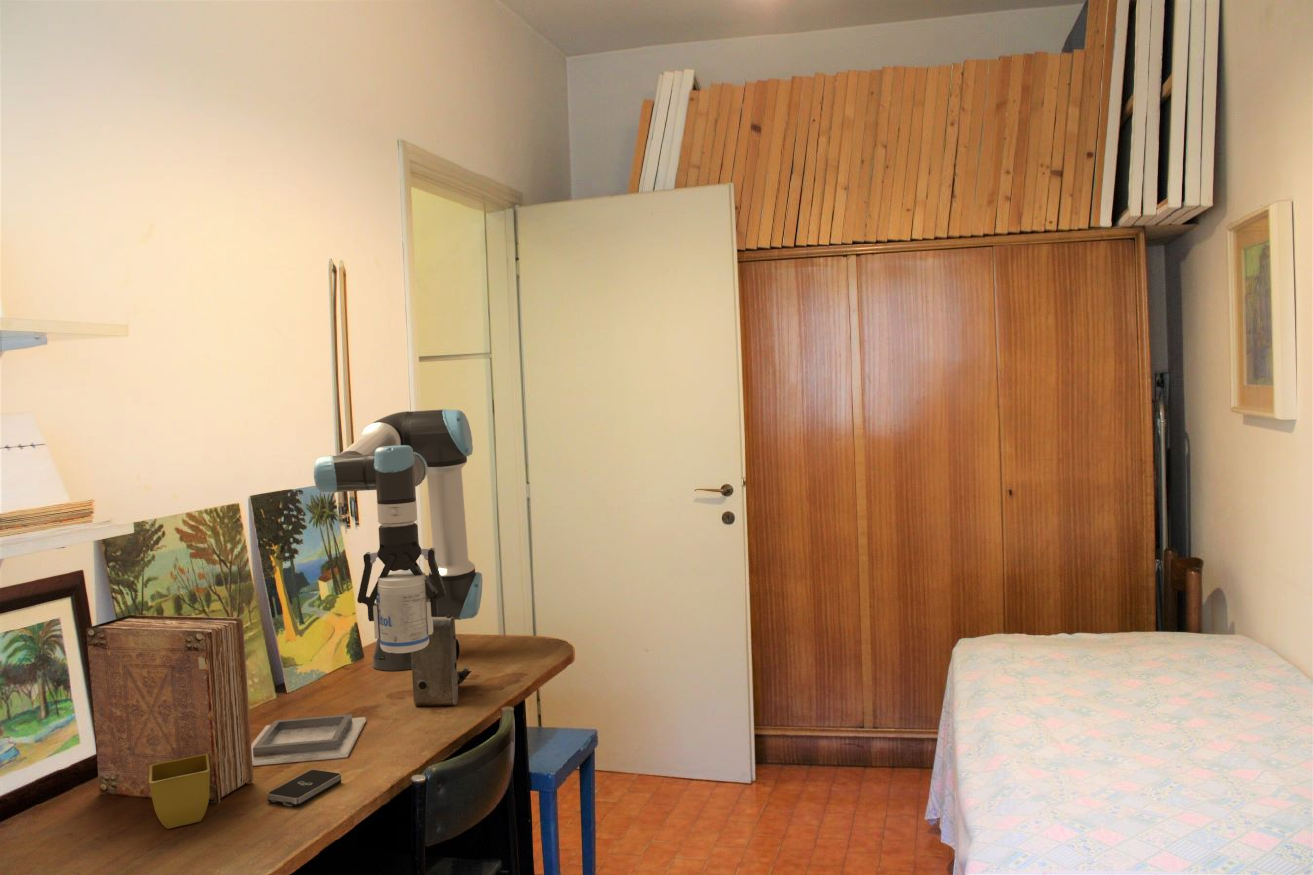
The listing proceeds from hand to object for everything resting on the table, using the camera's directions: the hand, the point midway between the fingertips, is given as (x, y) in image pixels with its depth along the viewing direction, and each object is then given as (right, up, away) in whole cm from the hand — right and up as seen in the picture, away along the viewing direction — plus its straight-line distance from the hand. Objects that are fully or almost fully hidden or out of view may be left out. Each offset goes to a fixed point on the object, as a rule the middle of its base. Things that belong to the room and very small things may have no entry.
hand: (404, 634), depth 190 cm
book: (-35, -23, -21) cm, 47 cm away
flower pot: (-27, -24, -34) cm, 50 cm away
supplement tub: (0, -3, 0) cm, 3 cm away
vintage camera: (+2, -19, +25) cm, 32 cm away
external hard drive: (-11, -23, -25) cm, 35 cm away
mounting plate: (-20, -21, -1) cm, 29 cm away
